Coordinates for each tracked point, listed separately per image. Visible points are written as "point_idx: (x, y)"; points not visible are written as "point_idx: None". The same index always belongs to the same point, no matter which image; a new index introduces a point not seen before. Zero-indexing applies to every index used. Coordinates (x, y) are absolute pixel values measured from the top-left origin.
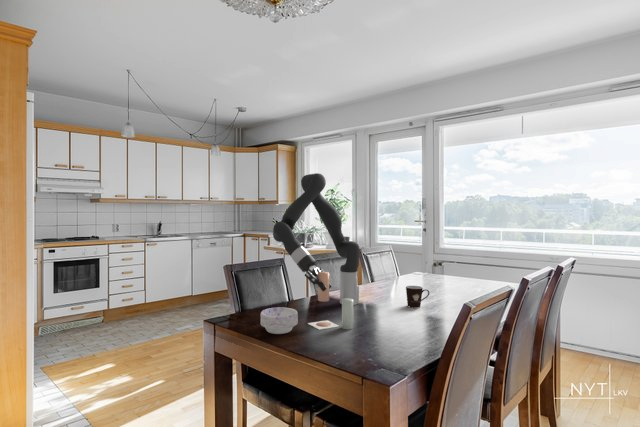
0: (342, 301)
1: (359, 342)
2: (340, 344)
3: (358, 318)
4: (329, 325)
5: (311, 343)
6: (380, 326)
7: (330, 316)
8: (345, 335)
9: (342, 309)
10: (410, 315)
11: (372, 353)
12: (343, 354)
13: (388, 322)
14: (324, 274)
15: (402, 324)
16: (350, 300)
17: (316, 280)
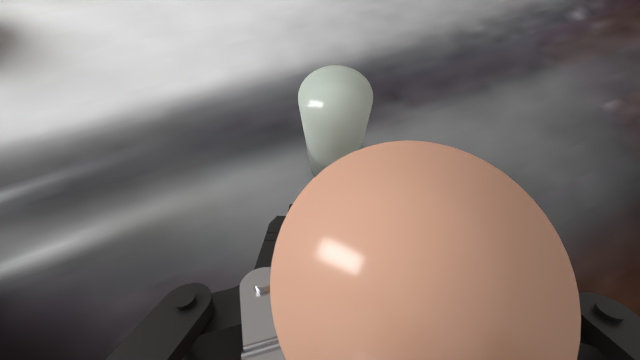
0: (361, 124)
1: (467, 76)
2: (524, 119)
3: (182, 169)
4: None
5: (586, 212)
6: (263, 69)
7: None
8: (425, 137)
9: (358, 145)
10: (85, 21)
11: (533, 21)
12: (599, 81)
13: (202, 59)
14: (517, 208)
15: (211, 18)
16: (354, 73)
17: (626, 318)
